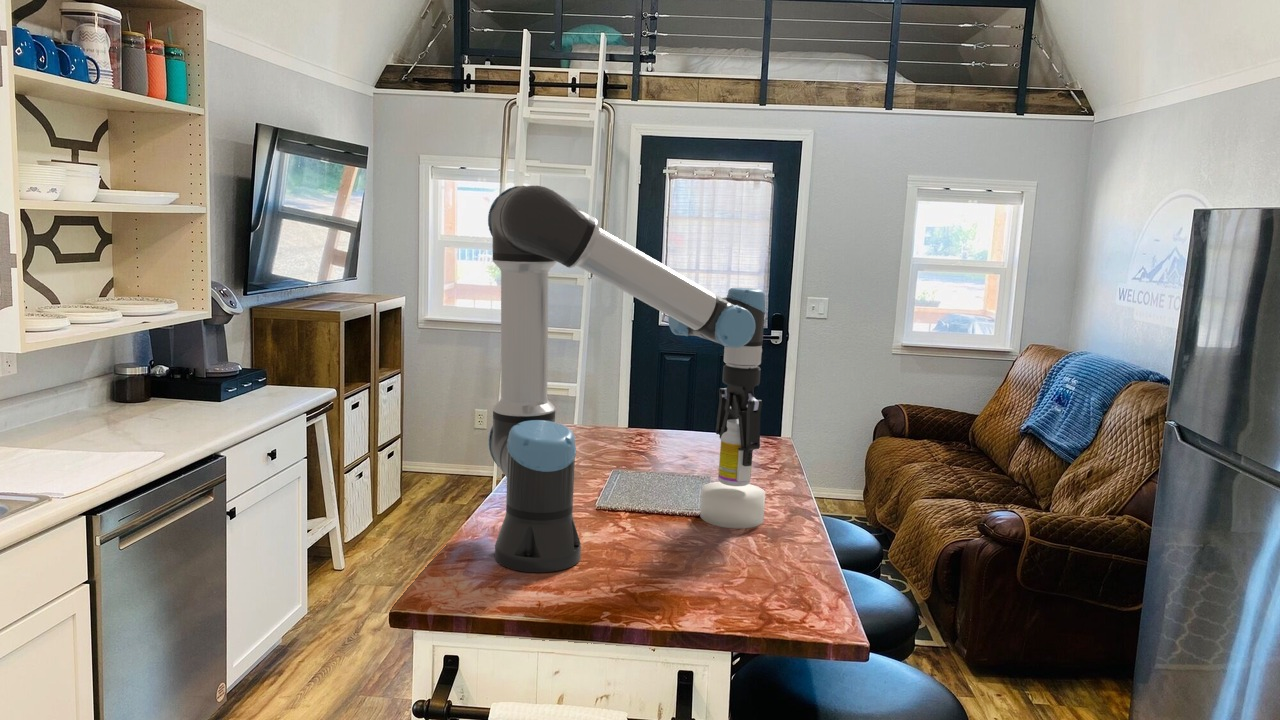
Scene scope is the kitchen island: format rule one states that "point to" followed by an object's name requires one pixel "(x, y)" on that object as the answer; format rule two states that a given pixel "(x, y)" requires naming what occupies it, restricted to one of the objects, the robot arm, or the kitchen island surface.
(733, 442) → the supplement bottle
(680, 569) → the kitchen island surface
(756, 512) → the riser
